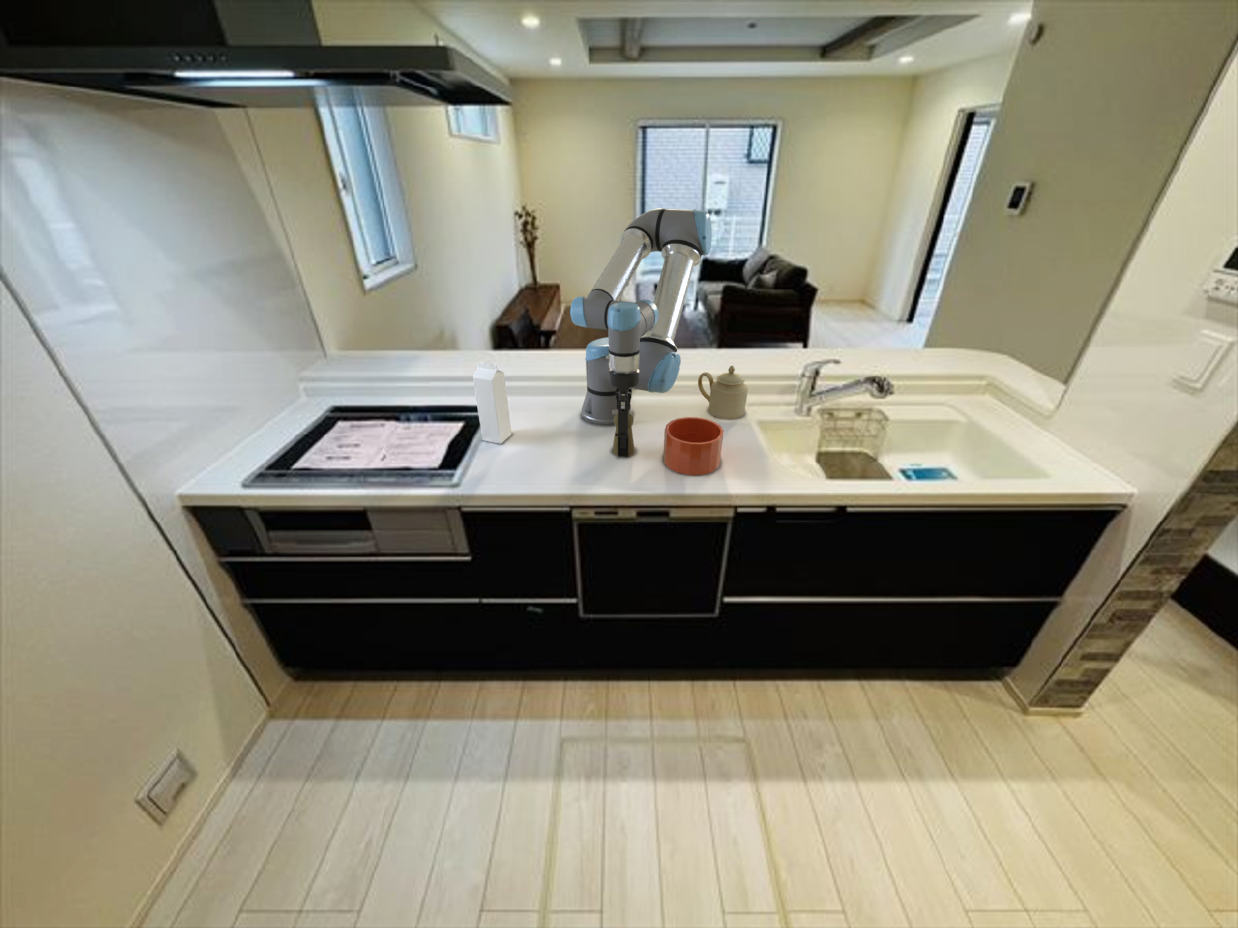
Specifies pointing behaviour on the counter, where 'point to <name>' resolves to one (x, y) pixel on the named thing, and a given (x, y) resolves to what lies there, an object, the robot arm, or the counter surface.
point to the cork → (630, 435)
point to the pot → (692, 445)
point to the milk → (492, 403)
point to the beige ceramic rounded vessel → (725, 394)
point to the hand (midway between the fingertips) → (623, 449)
